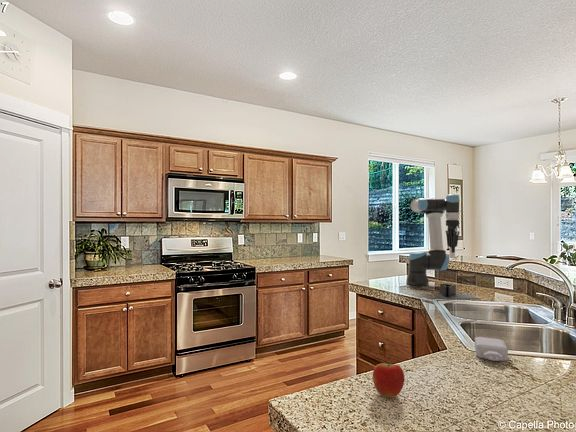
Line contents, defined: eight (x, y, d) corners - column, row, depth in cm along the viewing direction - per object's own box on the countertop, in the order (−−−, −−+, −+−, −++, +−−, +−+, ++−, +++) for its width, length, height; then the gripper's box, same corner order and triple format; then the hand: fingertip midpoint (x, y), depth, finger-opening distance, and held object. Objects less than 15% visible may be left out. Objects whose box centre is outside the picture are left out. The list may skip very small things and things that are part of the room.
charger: (478, 364, 120) (474, 349, 134) (510, 369, 116) (503, 353, 130) (478, 349, 120) (474, 336, 134) (511, 353, 117) (503, 339, 130)
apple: (370, 399, 95) (370, 361, 95) (374, 386, 103) (375, 350, 103) (403, 405, 92) (403, 365, 92) (405, 391, 100) (405, 354, 100)
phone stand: (440, 293, 232) (439, 296, 221) (440, 283, 232) (439, 286, 221) (455, 294, 228) (455, 298, 218) (455, 284, 228) (455, 288, 218)
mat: (433, 294, 228) (433, 294, 228) (468, 294, 230) (468, 294, 230) (443, 299, 216) (443, 298, 216) (479, 299, 218) (479, 298, 218)
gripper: (441, 219, 235) (441, 256, 235) (451, 219, 222) (451, 259, 222) (453, 219, 235) (452, 256, 235) (463, 219, 222) (463, 259, 222)
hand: (452, 257), depth 228 cm, fingers closed
